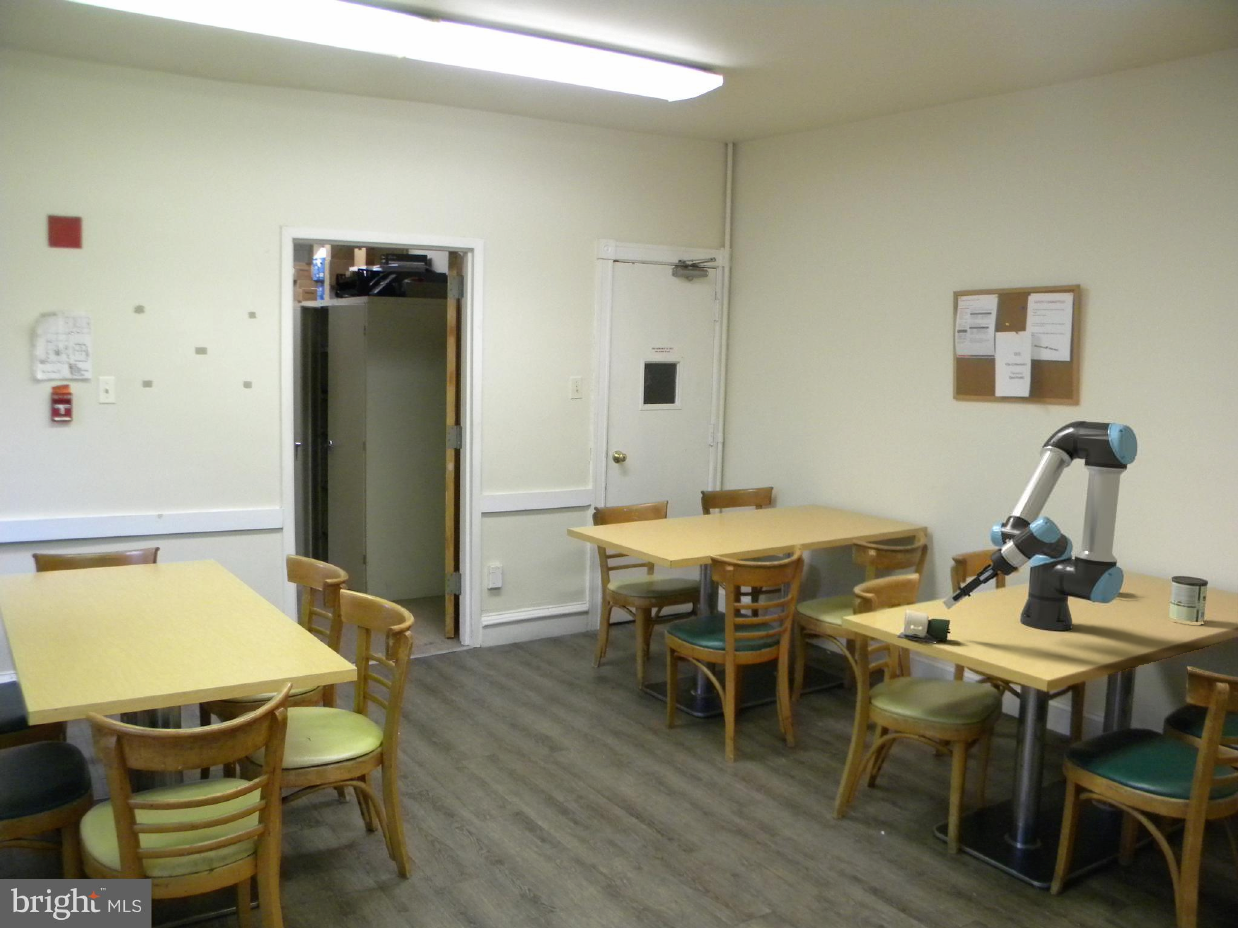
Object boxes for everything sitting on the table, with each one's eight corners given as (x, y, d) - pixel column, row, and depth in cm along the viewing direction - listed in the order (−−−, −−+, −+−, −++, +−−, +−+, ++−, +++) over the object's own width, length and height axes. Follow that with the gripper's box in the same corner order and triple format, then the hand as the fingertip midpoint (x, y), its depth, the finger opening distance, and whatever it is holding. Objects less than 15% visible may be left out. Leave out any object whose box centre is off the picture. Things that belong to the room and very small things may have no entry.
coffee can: (1166, 615, 335) (1170, 574, 334) (1202, 620, 331) (1206, 578, 330) (1169, 622, 326) (1173, 580, 325) (1205, 627, 322) (1209, 584, 320)
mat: (946, 631, 306) (946, 629, 306) (935, 643, 292) (935, 642, 292) (909, 625, 311) (910, 624, 311) (897, 637, 297) (897, 635, 297)
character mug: (946, 636, 300) (902, 627, 303) (951, 614, 298) (906, 605, 302) (948, 648, 289) (902, 638, 292) (953, 625, 288) (906, 615, 291)
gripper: (1005, 544, 294) (944, 591, 305) (994, 550, 283) (931, 599, 294) (1023, 564, 291) (960, 611, 302) (1013, 571, 281) (948, 619, 292)
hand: (946, 605), depth 298 cm, fingers closed
